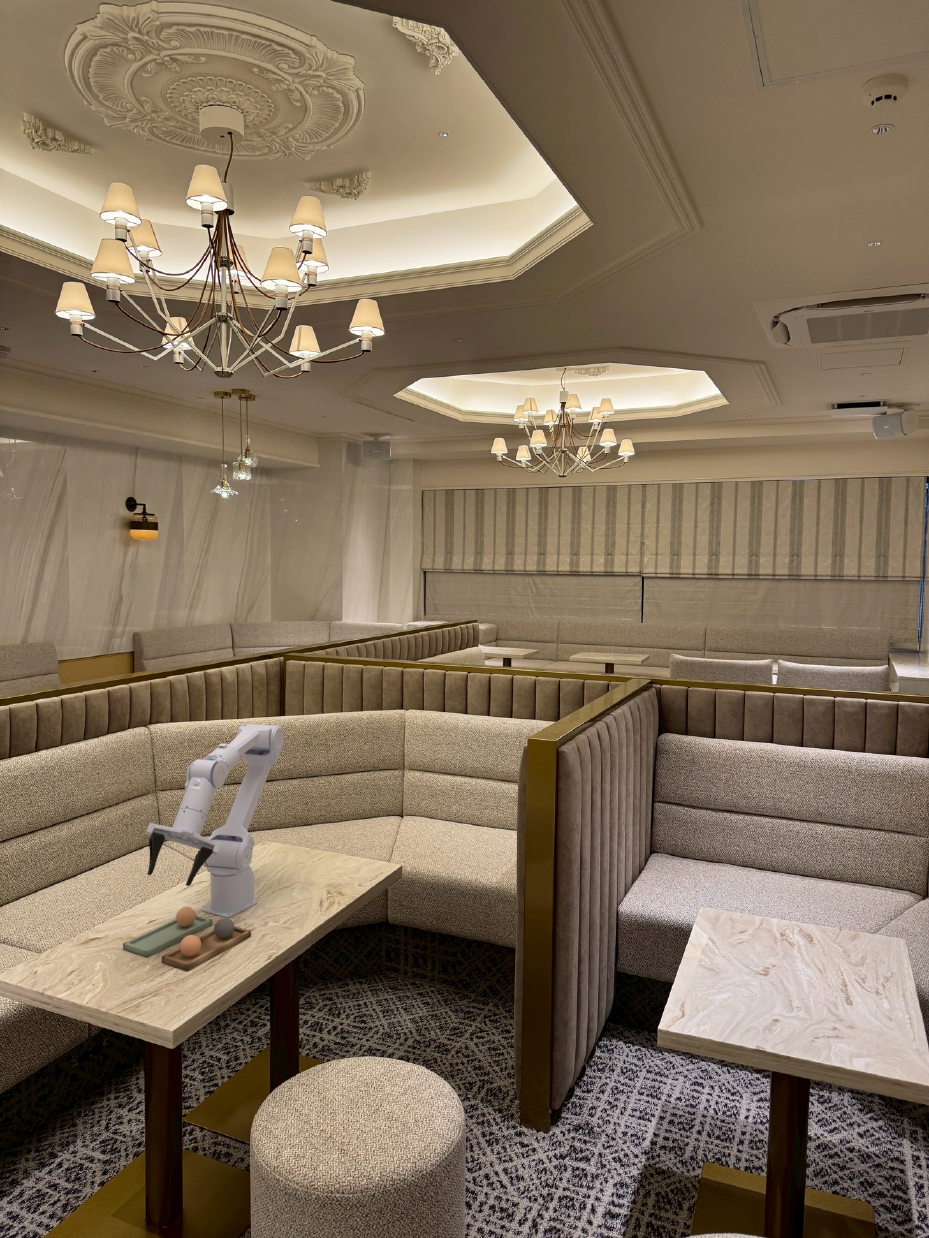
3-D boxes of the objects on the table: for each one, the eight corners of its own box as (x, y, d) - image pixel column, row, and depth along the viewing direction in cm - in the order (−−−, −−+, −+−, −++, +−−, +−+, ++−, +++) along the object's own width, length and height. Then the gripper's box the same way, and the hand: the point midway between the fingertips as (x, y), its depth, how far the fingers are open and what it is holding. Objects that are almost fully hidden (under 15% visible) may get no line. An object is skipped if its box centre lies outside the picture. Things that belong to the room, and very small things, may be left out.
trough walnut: (226, 928, 172) (226, 923, 172) (250, 936, 168) (250, 930, 168) (161, 962, 157) (161, 956, 157) (187, 971, 153) (187, 965, 153)
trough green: (188, 917, 177) (188, 912, 177) (212, 924, 173) (212, 919, 173) (123, 949, 162) (122, 943, 162) (147, 957, 159) (147, 951, 158)
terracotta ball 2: (191, 949, 161) (190, 929, 161) (205, 953, 159) (205, 934, 159) (175, 957, 158) (175, 937, 157) (190, 962, 156) (189, 942, 156)
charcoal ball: (224, 931, 169) (224, 913, 169) (238, 936, 167) (238, 917, 167) (209, 939, 166) (209, 920, 165) (224, 943, 164) (224, 924, 163)
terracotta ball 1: (186, 920, 174) (186, 902, 174) (200, 924, 172) (199, 906, 172) (171, 927, 171) (171, 908, 171) (185, 931, 169) (185, 912, 169)
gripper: (161, 797, 161) (135, 864, 154) (231, 819, 166) (209, 885, 158) (154, 807, 167) (129, 872, 159) (222, 828, 171) (201, 892, 163)
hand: (169, 879), depth 159 cm, fingers open, 7 cm apart
